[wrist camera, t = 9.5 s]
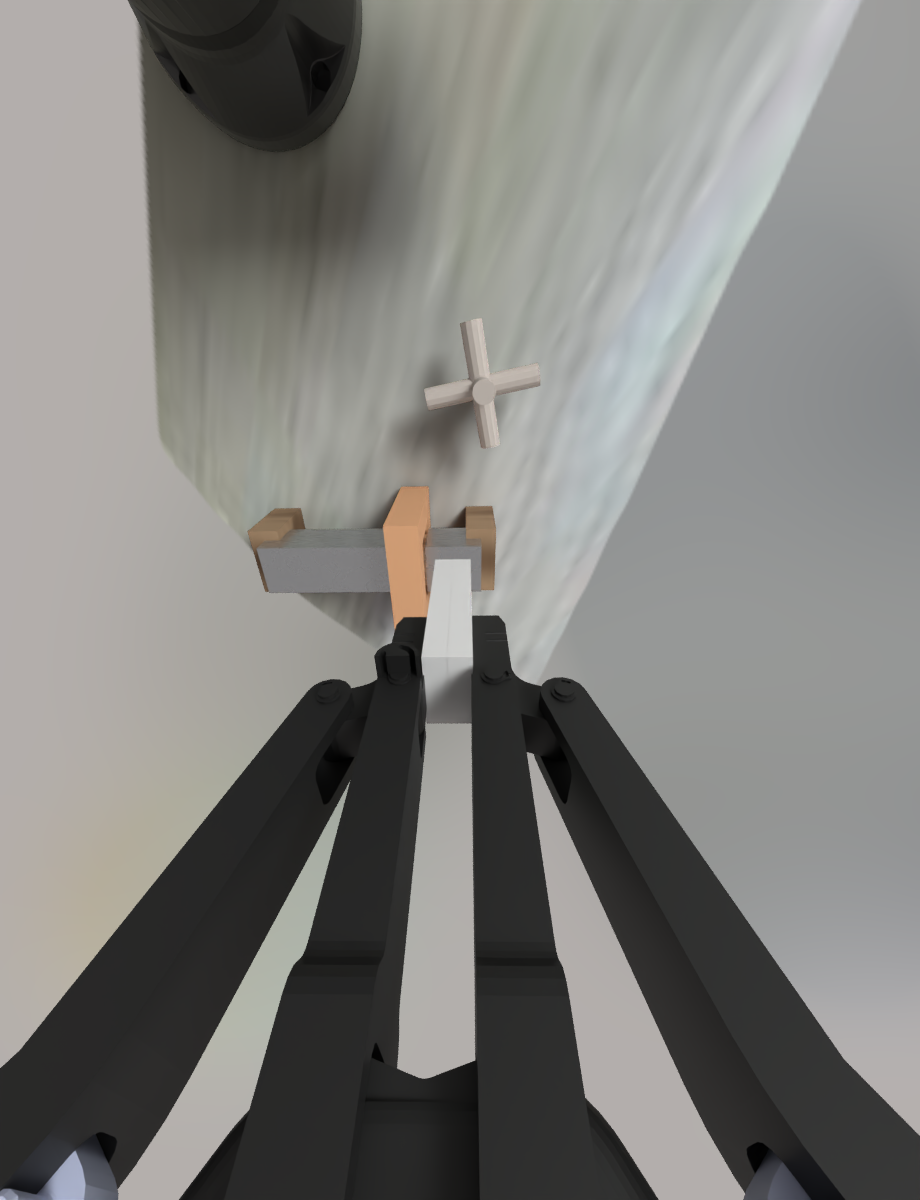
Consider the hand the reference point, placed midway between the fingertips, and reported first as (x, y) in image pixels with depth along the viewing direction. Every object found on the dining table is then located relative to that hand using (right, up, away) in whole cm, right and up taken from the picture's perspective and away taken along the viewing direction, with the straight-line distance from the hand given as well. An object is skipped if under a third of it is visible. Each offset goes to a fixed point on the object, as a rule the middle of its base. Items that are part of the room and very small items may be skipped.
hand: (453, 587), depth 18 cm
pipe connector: (+2, +21, +23) cm, 31 cm away
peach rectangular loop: (-5, +7, +31) cm, 32 cm away
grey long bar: (-9, +5, +28) cm, 30 cm away
